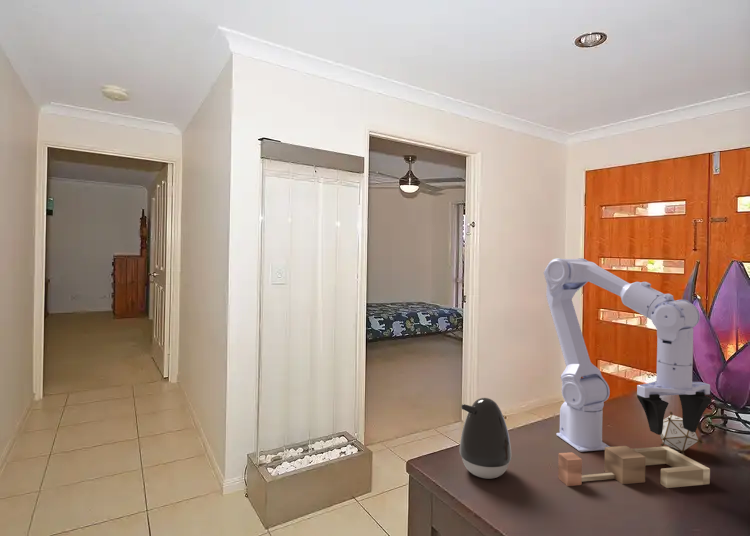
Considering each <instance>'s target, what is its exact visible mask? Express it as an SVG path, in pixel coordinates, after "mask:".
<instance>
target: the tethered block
mask: <svg viewBox="0 0 750 536" xmlns="http://www.w3.org/2000/svg"><path fill="white" fill-rule="evenodd" d="M633 449H634V448H631V447H630V446H627V445H618V446H610V447H605V450H604V465H603V466H604V467H603V469H604V470H603V471H604V472H603V473H593V474H592V473H591V474H582V473H583V458H581V457H579V455H577V454H575V453H574V452H558V458H557V459H558V460H557V461H558V467H557V468H558V473H557V476H558V477H557V479H558V480H559V481H561V482H562V483H563V484H564V485H565V486H566V487H574V486H582V482H583V483H584V482H590V481H602V480H603V481H604V480H613V479H614V480H616V482H618V483H620V484H622V485H628V484H629V485H630V484H638V483H639V484H640V483H646V465H645V461H646V457H645V456H643V455H642V454H640V453H638V452H636V451H635V450H633Z"/></svg>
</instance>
